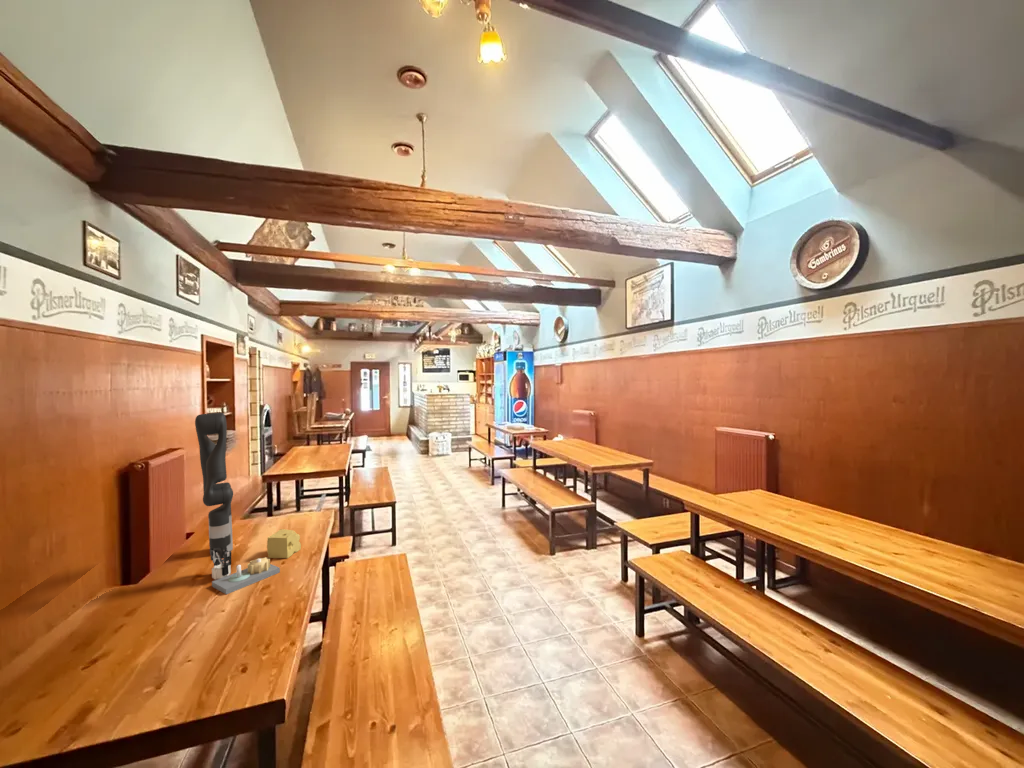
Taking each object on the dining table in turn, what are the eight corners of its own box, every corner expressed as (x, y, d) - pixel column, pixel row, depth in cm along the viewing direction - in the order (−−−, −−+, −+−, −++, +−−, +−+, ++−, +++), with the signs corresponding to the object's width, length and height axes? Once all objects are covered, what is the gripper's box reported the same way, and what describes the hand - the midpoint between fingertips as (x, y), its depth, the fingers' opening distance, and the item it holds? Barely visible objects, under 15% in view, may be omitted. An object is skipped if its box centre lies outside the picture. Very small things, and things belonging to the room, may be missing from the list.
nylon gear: (209, 576, 180) (209, 567, 180) (226, 570, 186) (225, 561, 185) (216, 580, 177) (216, 571, 177) (233, 574, 182) (233, 565, 182)
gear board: (212, 586, 172) (211, 569, 172) (265, 565, 190) (264, 550, 189) (226, 594, 165) (225, 576, 165) (279, 572, 183) (279, 556, 183)
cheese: (301, 549, 207) (300, 529, 207) (287, 559, 196) (286, 538, 196) (281, 549, 208) (280, 528, 208) (266, 558, 197) (265, 537, 197)
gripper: (202, 534, 181) (203, 572, 182) (217, 540, 174) (219, 580, 174) (221, 528, 188) (223, 565, 188) (237, 534, 180) (239, 573, 180)
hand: (221, 572), depth 181 cm, fingers closed on nylon gear, 6 cm apart
